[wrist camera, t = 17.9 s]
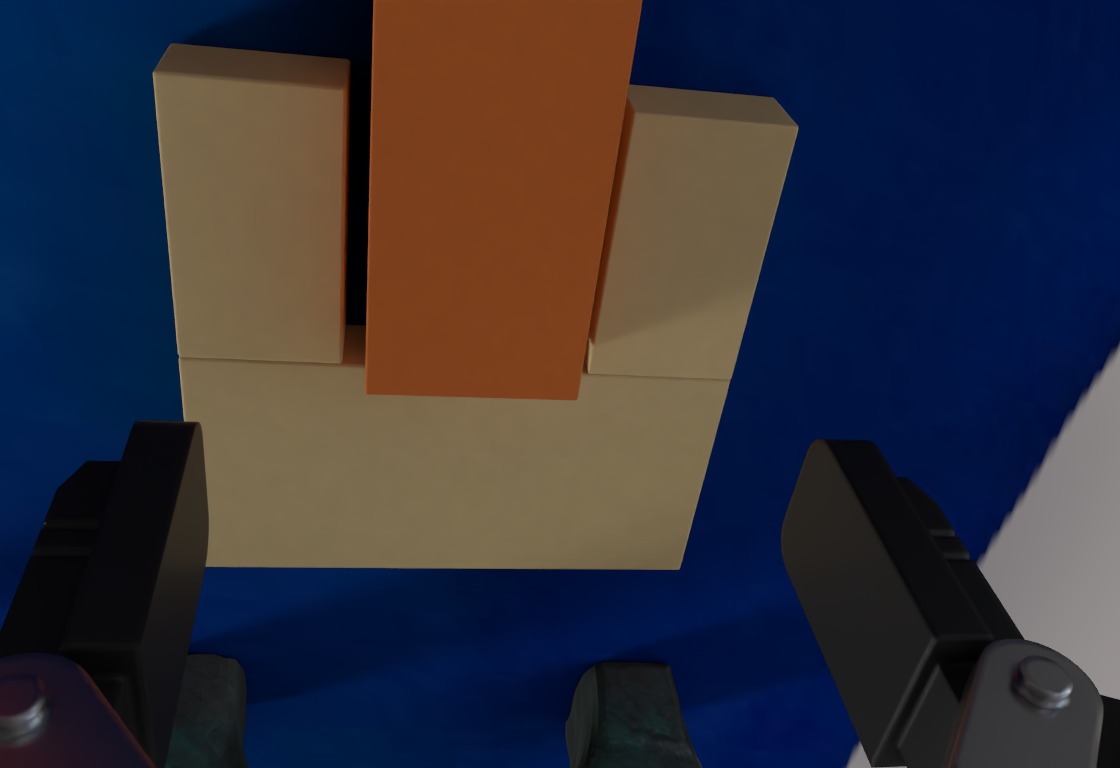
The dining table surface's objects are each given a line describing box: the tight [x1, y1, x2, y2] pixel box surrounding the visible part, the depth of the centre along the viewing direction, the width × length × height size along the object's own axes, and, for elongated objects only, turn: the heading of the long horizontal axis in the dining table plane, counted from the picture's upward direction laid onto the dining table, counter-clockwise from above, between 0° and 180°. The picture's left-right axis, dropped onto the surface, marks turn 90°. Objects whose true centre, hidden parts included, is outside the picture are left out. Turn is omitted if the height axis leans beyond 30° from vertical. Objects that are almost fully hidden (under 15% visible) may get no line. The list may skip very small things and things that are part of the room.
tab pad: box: [365, 0, 643, 400], centre depth 23 cm, size 5×10×4 cm, turn 173°
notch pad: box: [153, 43, 798, 570], centre depth 27 cm, size 14×14×2 cm
